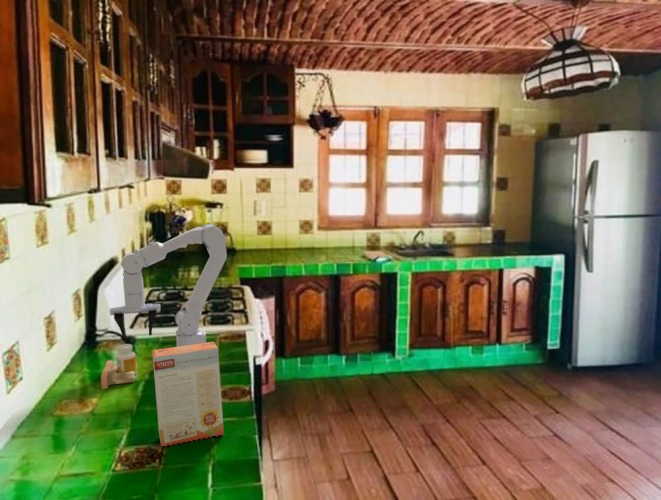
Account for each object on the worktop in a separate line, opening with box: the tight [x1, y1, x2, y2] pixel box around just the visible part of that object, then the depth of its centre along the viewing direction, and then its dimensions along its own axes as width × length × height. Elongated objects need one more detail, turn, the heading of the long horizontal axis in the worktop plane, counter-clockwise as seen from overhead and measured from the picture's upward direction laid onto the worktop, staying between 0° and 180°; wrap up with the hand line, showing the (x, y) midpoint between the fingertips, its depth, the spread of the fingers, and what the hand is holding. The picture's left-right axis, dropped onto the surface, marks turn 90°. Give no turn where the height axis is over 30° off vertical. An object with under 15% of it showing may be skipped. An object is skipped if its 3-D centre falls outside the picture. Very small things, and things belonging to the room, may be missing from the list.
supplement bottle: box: [115, 343, 138, 379], centre depth 168 cm, size 5×5×10 cm
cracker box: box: [151, 341, 225, 447], centre depth 129 cm, size 14×6×21 cm, turn 110°
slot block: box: [108, 361, 138, 386], centre depth 168 cm, size 7×10×3 cm
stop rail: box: [100, 360, 114, 390], centre depth 167 cm, size 2×14×4 cm, turn 14°
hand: (137, 335), depth 176 cm, fingers open, 7 cm apart
